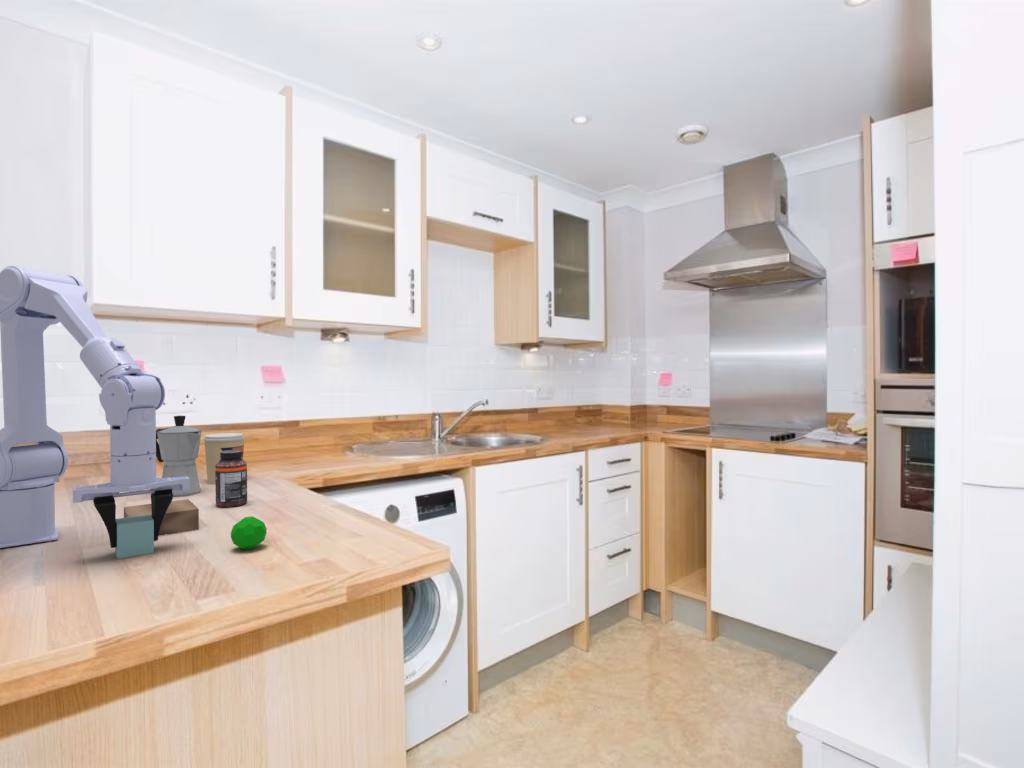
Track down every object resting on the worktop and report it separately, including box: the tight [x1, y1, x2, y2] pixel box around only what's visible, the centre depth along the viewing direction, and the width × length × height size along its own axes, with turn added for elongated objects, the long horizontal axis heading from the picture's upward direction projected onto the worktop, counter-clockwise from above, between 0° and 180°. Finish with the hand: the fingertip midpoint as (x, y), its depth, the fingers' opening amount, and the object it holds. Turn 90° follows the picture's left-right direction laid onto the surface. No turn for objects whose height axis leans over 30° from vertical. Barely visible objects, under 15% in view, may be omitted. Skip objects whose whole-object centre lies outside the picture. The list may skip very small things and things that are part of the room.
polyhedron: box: [230, 515, 267, 551], centre depth 85 cm, size 5×5×5 cm
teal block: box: [114, 514, 155, 560], centre depth 83 cm, size 4×4×5 cm
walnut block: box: [123, 498, 200, 537], centre depth 96 cm, size 10×10×4 cm
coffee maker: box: [156, 415, 203, 498], centre depth 126 cm, size 15×9×18 cm, turn 74°
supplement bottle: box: [214, 450, 248, 508], centre depth 114 cm, size 6×6×11 cm
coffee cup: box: [203, 432, 246, 485], centre depth 141 cm, size 9×9×12 cm
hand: (134, 542), depth 83 cm, fingers closed on teal block, 4 cm apart
